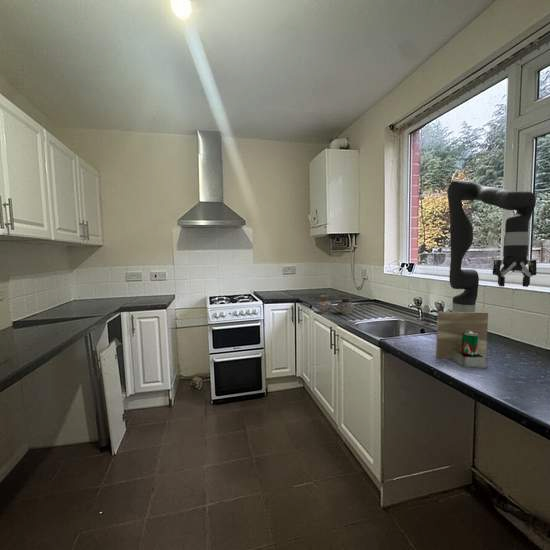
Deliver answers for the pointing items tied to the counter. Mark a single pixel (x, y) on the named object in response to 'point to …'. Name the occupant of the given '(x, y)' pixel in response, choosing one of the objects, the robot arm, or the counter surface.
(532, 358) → the counter surface
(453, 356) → the can holder
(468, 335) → the soda can
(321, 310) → the pottery
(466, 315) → the wall board
